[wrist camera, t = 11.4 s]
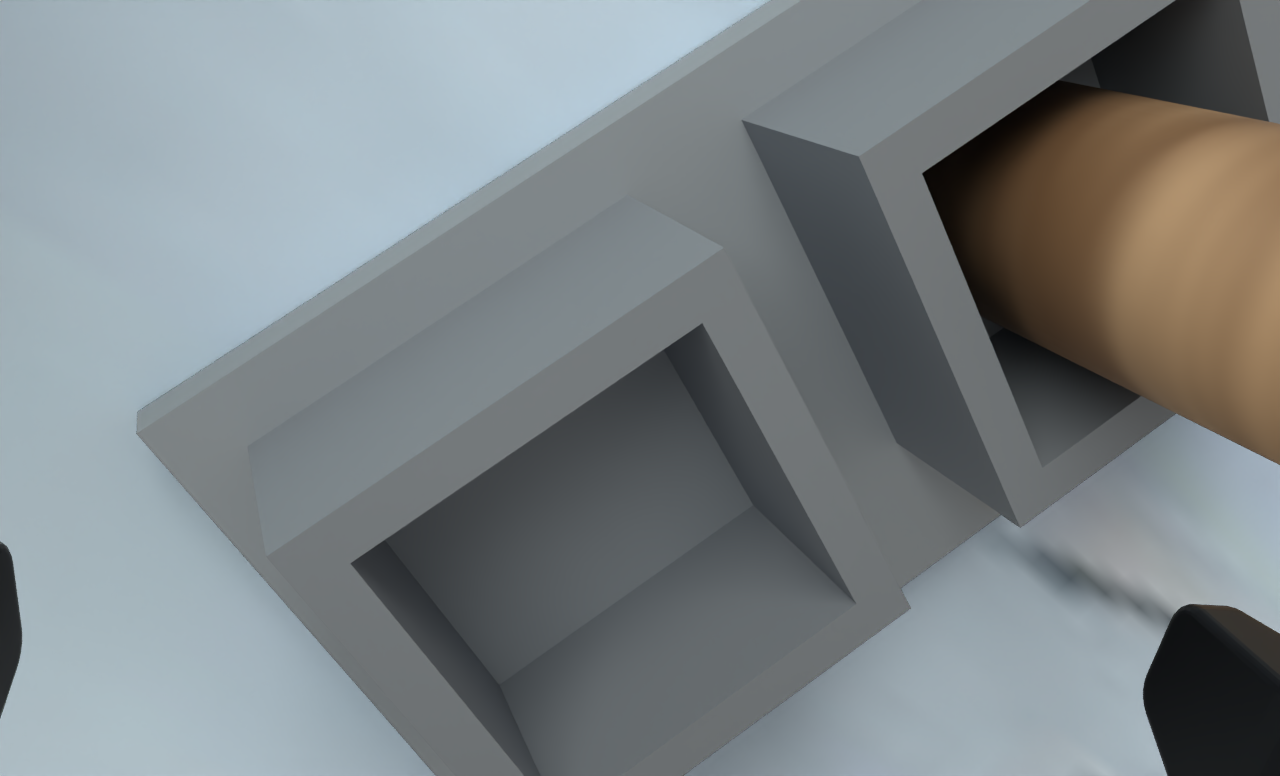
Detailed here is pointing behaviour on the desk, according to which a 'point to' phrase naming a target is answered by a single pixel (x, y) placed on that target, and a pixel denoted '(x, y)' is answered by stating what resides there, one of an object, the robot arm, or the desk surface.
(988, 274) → the walnut peg
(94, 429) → the desk surface
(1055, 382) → the socket block
